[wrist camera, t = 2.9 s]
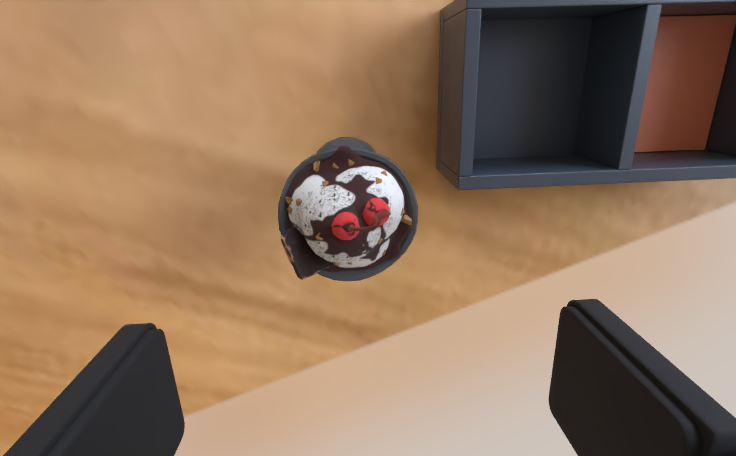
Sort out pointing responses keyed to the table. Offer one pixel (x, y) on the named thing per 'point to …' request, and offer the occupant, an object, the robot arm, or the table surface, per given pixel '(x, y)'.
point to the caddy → (586, 92)
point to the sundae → (346, 212)
